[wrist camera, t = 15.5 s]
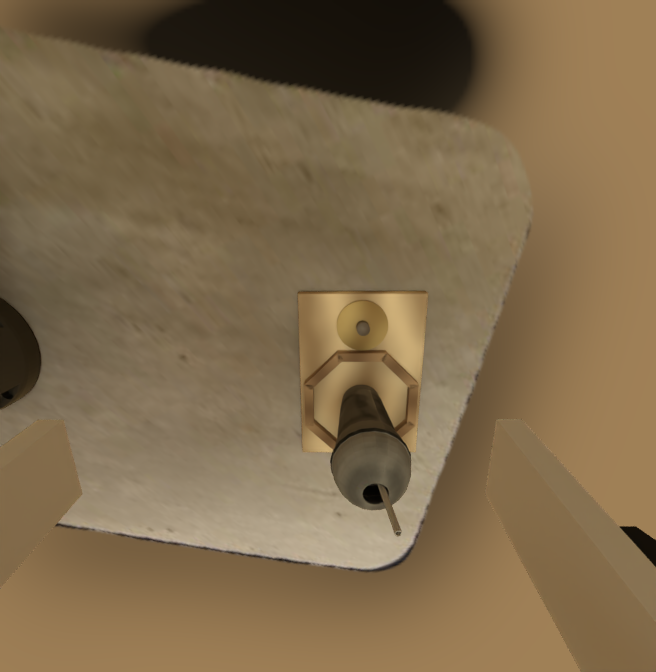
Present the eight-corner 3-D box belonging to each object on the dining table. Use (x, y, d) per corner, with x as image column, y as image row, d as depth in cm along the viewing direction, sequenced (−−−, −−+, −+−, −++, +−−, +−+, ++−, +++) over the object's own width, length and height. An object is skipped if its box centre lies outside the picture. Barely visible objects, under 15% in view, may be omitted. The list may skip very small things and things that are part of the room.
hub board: (303, 446, 49) (301, 461, 46) (298, 291, 42) (296, 297, 40) (413, 446, 49) (418, 461, 46) (425, 291, 42) (432, 297, 39)
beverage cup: (318, 393, 45) (309, 529, 26) (371, 362, 44) (402, 480, 25) (351, 438, 47) (366, 595, 28) (403, 409, 46) (455, 553, 27)
